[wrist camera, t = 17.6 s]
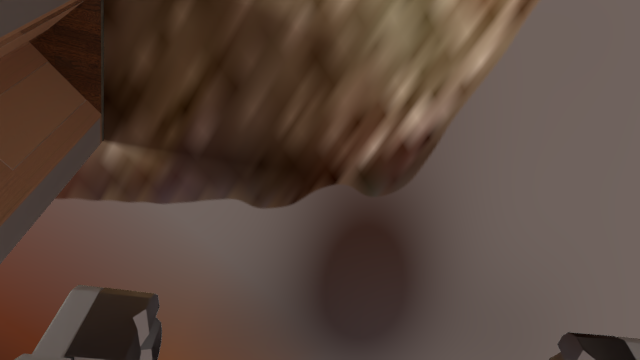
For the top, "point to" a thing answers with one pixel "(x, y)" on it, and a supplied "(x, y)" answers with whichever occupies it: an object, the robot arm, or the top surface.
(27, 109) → the cabinet
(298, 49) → the top surface
